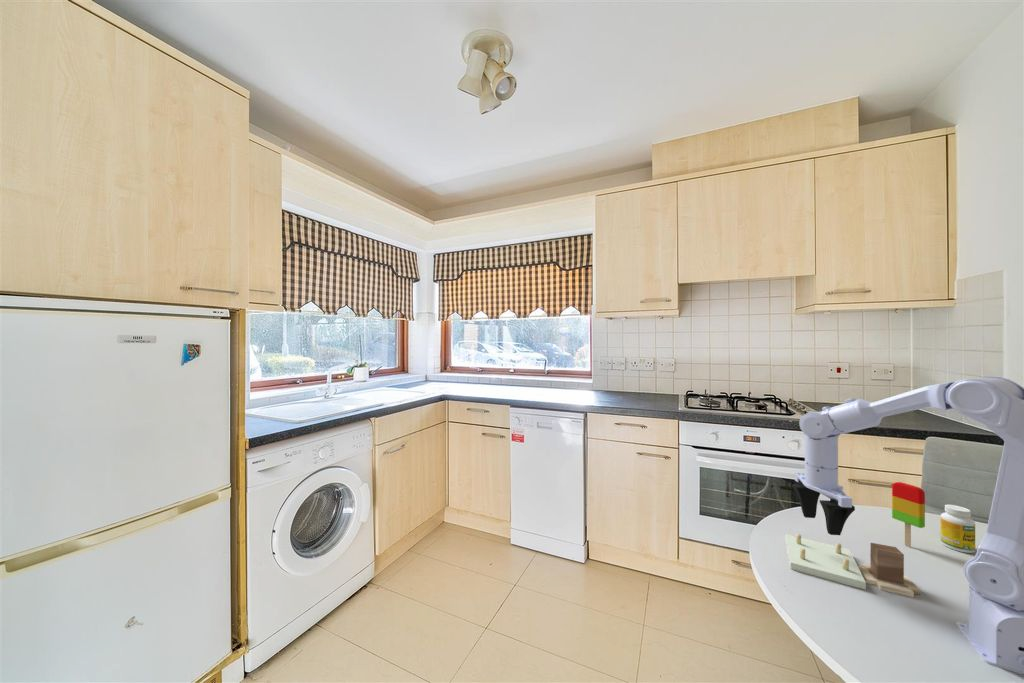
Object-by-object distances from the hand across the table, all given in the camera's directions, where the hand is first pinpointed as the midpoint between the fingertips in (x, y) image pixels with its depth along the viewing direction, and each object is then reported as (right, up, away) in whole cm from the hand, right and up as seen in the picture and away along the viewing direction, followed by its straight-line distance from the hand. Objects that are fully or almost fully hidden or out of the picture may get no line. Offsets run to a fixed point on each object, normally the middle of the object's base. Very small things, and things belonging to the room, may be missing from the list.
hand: (821, 525), depth 82 cm
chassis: (0, -8, 0) cm, 8 cm away
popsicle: (+27, -9, +7) cm, 29 cm away
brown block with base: (+8, -9, -6) cm, 13 cm away
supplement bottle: (+38, -9, +6) cm, 40 cm away
